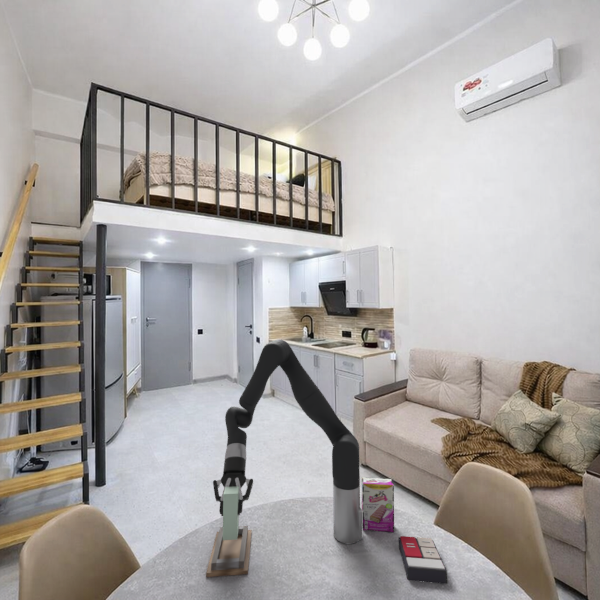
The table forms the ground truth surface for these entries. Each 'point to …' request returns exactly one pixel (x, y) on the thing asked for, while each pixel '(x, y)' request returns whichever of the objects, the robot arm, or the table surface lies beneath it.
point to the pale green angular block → (230, 513)
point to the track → (230, 554)
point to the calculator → (422, 560)
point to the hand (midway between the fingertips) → (230, 514)
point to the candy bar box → (377, 504)
